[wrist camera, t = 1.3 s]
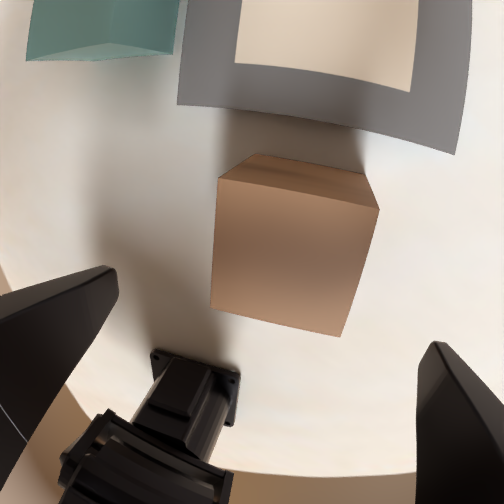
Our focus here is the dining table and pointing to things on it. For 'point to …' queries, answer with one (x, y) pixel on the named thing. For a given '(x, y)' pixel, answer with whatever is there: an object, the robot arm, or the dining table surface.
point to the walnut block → (291, 242)
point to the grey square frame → (334, 62)
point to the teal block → (101, 29)
